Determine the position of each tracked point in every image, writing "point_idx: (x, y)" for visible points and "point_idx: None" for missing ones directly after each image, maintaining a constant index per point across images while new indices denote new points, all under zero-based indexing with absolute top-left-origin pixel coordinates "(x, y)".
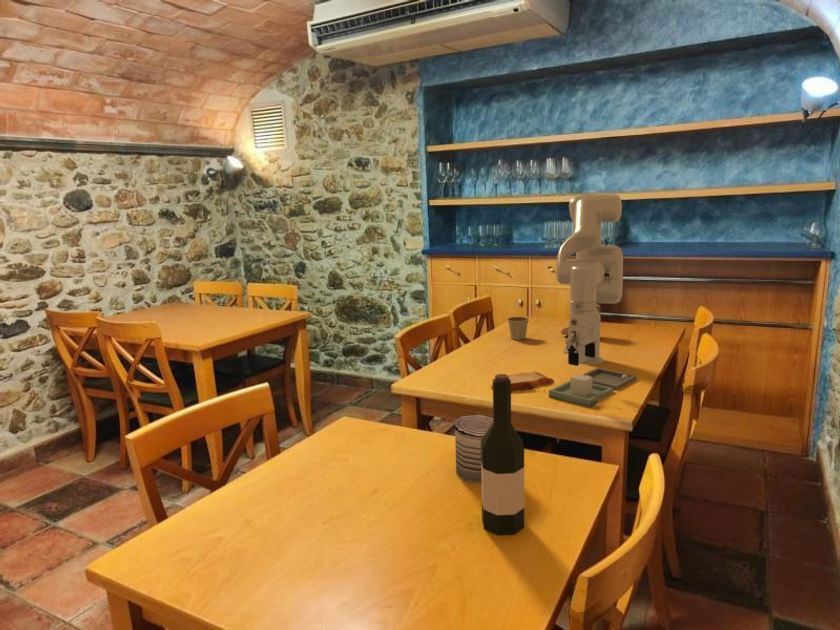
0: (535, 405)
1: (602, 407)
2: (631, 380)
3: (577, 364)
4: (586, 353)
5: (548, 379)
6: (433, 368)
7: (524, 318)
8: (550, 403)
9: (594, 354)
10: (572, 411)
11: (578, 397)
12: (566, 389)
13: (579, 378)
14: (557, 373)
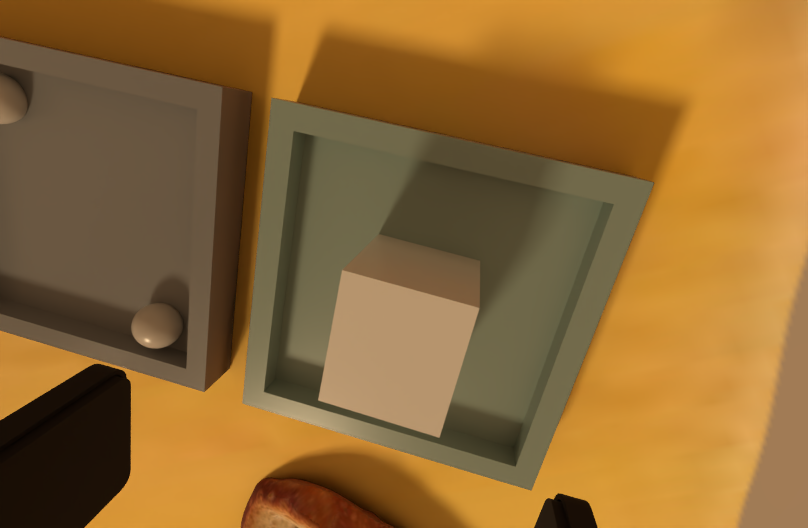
0: (709, 493)
1: (594, 92)
2: (5, 38)
3: (588, 514)
4: (97, 494)
5: (328, 525)
6: None
7: None
8: (638, 425)
9: (74, 390)
10: (760, 268)
11: (612, 284)
12: None
13: (433, 366)
14: (128, 484)
